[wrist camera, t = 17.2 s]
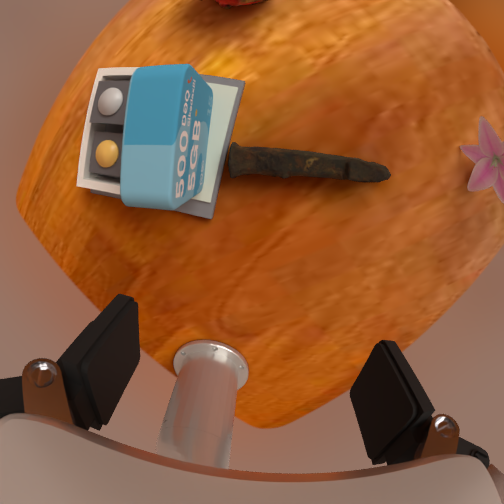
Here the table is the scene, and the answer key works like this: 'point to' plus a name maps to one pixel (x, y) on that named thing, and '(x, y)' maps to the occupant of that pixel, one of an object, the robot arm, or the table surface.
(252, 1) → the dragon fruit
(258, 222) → the table surface
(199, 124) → the data package
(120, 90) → the grey square block
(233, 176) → the hand tool
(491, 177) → the lily
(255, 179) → the table surface
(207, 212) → the board
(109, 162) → the tagged breaker
